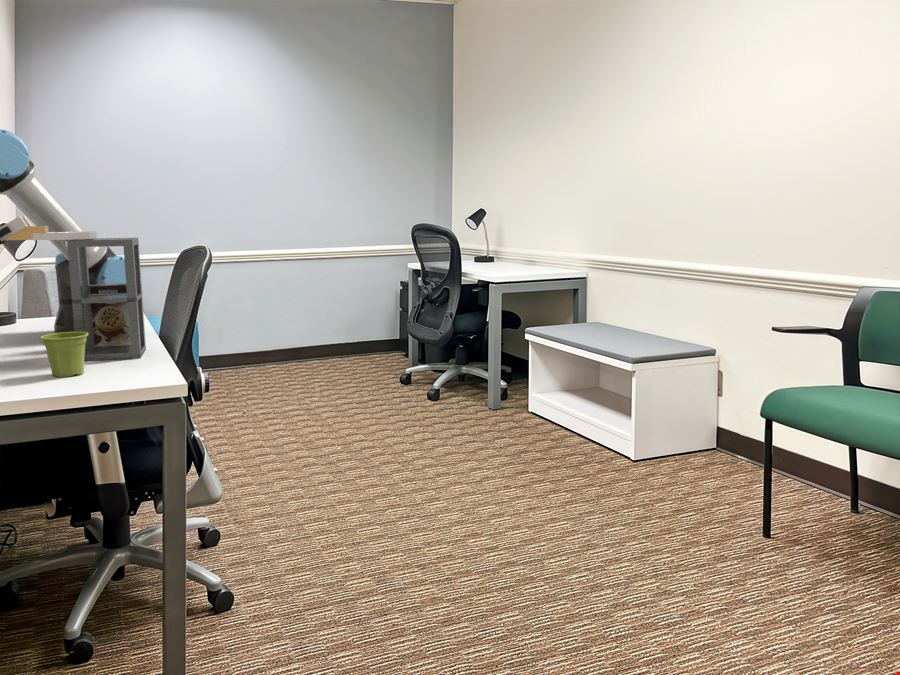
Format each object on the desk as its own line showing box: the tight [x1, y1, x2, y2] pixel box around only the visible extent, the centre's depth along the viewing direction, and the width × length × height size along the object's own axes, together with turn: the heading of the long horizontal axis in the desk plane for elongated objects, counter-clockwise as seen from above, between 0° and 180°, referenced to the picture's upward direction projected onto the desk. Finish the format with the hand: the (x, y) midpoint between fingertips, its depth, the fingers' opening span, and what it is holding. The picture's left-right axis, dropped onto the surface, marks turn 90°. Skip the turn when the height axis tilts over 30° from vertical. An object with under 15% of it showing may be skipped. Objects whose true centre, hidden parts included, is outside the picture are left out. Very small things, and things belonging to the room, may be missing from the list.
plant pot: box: [39, 332, 88, 378], centre depth 179 cm, size 9×9×9 cm
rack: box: [66, 237, 147, 362], centre depth 199 cm, size 12×14×28 cm
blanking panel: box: [5, 225, 98, 241], centre depth 194 cm, size 10×24×3 cm, turn 104°
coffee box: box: [90, 284, 131, 346], centre depth 213 cm, size 9×6×16 cm
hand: (25, 221), depth 193 cm, fingers closed on blanking panel, 4 cm apart
